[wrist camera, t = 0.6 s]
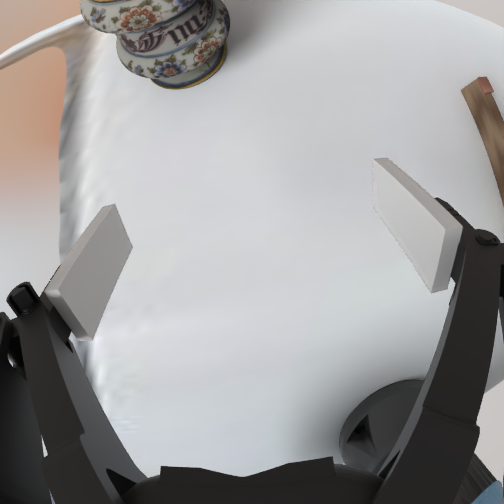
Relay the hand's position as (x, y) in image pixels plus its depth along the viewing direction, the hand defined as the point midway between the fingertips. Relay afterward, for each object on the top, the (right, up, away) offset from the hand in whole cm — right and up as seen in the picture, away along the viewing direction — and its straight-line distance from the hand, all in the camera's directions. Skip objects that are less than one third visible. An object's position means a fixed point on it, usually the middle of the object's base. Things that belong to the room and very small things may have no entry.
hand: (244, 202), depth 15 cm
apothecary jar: (-8, +21, +16) cm, 27 cm away
